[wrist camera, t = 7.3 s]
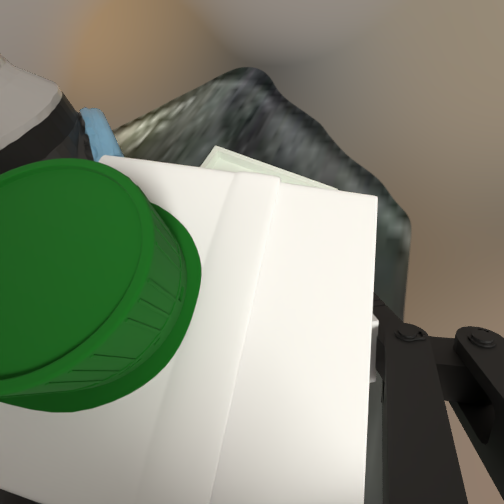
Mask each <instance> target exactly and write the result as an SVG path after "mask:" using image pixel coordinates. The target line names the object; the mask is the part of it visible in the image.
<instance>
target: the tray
mask: <svg viewBox="0 0 504 504" xmlns="http://www.w3.org/2000/svg"><path fill="white" fill-rule="evenodd" d="M200 167H201V168H209V169H216V170H223V171H231V172H239V171H246V172H255V173H262V174H268V175H274V176H277V177H280V178H281V182H283V183H290V184H297V185H304V186H311V187H318V188H324V189H331V190H338V189H336V188H333V187H330V186H328V185H325V184H322V183H319V182H316V181H314V180H311V179H308V178H305V177H302V176H300V175H297V174H294V173H291V172H288V171H285V170H283V169H280V168H277V167H274V166H271V165H269V164H266V163H263V162H260V161H257V160H255V159H252V158H249V157H246V156H243V155H240V154H238V153H235V152H232V151H229V150H226V149H224V148H221V147H218V146H215V147H214V148H213V150H212V151H211V152H210V154H209V155H208V157H207V158H206V159H205V161H204V162H203V164H202V165H201V166H200Z"/></svg>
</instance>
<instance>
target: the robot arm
mask: <svg viewBox="0 0 504 504" xmlns="http://www.w3.org/2000/svg"><path fill="white" fill-rule="evenodd" d="M103 155H109V156H118V157H124V156H123V153H122V151H121V149H120V147H119V145H118V143H117V141H116V138H115V136H114V134H113V132H112V130H111V128H110V126H109V124H108V122H107V119H106V117H105V115H104V113H103V112H102V111H101V110H100V109H97V108H91V109H88V108H86V107H85V108H82V109H80V112H79V113H78V112H76V111H75V109H74V108H73V106H72V105H71V104H70V102H69V101H68V99H67V98H66V96H65V95H64V94H63V92H62V91H61V89H60V88H59V87H58V85H57V84H56V83H54V82H53V81H51V80H48V79H46V78H43V77H41V76H38V75H36V74H33V73H31V72H28V71H26V70H23V69H20V68H18V67H16V66H13V65H12V64H11V63H10V62H9V61H8V60H6V59H5V58H4V57H3V56H2V55H1V54H0V175H1V174H3V173H5V172H7V171H10V170H12V169H15V168H18V167H20V166H23V165H27V164H30V163H34V162H38V161H43V160H50V159H59V158H78V159H86V160H92V161H96V162H99V160H100V159H101V157H102V156H103ZM376 370H377V371H378V373H379V374H380V376H381V377H382V379H383V380H382V397H381V403H382V462H383V504H468V501H467V497H466V492H465V488H464V483H463V479H462V475H461V471H460V466H459V462H458V458H457V453H456V449H455V445H454V441H453V436H452V432H451V428H450V423H449V419H448V415H447V410H446V406H445V402H444V400H446V401H449V403H450V405H451V406H452V408H453V410H454V411H455V414H456V415H457V417H458V419H459V421H460V423H461V424H462V426H463V428H464V430H465V431H466V433H467V435H468V437H469V439H470V441H471V442H472V444H473V446H474V448H475V450H476V451H477V453H478V455H479V457H480V459H481V460H482V462H483V464H484V466H485V467H486V469H487V471H488V473H489V475H490V477H491V478H492V480H493V482H494V484H495V486H496V487H497V489H498V491H499V492H500V495H501V496H502V498H503V500H504V338H503V337H501V336H500V335H499V334H497V333H495V332H493V331H490V330H487V329H484V328H480V327H472V326H468V327H462V328H460V329H458V330H457V332H456V335H455V338H442V337H431V336H428V334H427V333H426V332H425V331H424V330H423V329H421V328H419V327H417V326H415V325H412V324H407V323H403V322H402V321H401V320H400V319H399V318H398V317H397V316H396V315H395V314H394V312H393V311H392V310H391V309H390V308H389V307H388V306H386V305H385V303H384V302H383V301H382V300H380V298H379V297H378V296H377V295H376V294H375V293H374V292H373V311H372V333H371V355H370V377H369V382H376ZM0 504H41V503H38V502H35V501H33V500H30V499H27V498H24V497H22V496H19V495H16V494H13V493H11V492H8V491H5V490H2V489H0Z"/></svg>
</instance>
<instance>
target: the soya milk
mask: <svg viewBox="0 0 504 504" xmlns="http://www.w3.org/2000/svg"><path fill="white" fill-rule="evenodd" d="M377 201H378V200H377V197H376V196H372V195H365V194H359V193H352V192H345V191H338V190H331V189H324V188H318V187H311V186H304V185H297V184H290V183H283V182H281V178H280V177H277V176H274V175H268V174H262V173H255V172H246V171H239V172H231V171H223V170H216V169H209V168H201V167H194V166H186V165H179V164H171V163H164V162H156V161H149V160H141V159H133V158H126V157H118V156H109V155H103V156H102V157H101V159H100V160H99V162H96V161H92V160H86V159H78V158H59V159H50V160H43V161H38V162H34V163H30V164H27V165H23V166H20V167H18V168H15V169H12V170H10V171H7V172H5V173H3V174H1V175H0V489H2V490H5V491H8V492H11V493H13V494H16V495H19V496H22V497H24V498H27V499H30V500H33V501H35V502H38V503H41V504H364V486H365V464H366V442H367V420H368V399H369V377H370V355H371V333H372V311H373V290H374V268H375V246H376V224H377Z"/></svg>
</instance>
